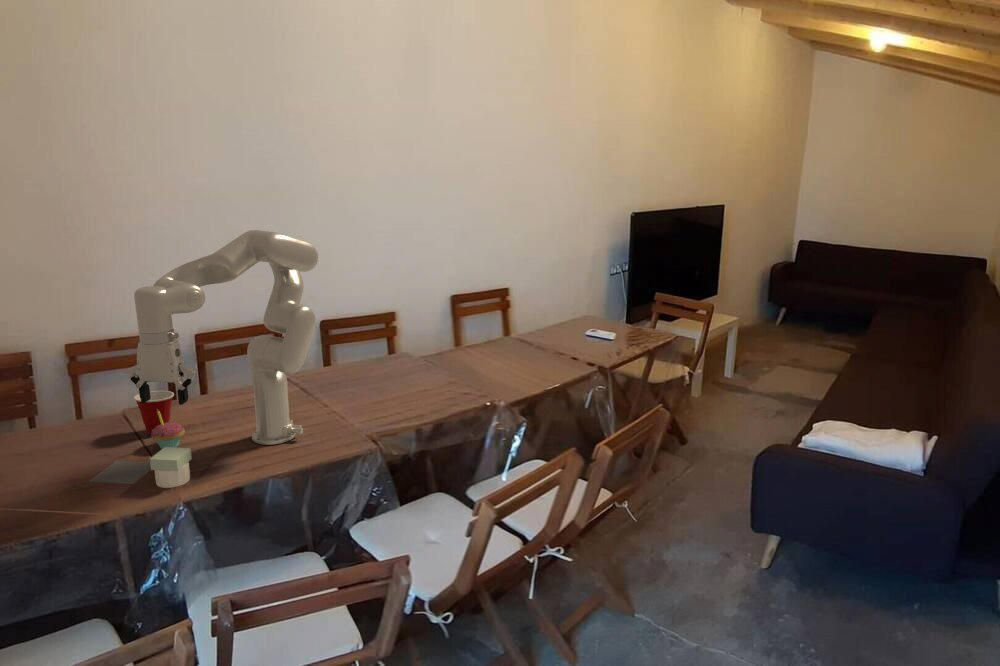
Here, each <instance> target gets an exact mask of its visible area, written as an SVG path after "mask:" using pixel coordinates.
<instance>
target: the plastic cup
mask: <svg viewBox="0 0 1000 666" xmlns="http://www.w3.org/2000/svg"><path fill="white" fill-rule="evenodd" d="M150 395H151V399H150V400H148V401H147V402H145V403H141V398H140V395H139V393H138V394H136V395H134V397H133V399H134V400H135V401H136V404H137V407H138V409H139V413H140V416H141V419H142V422H143V424H144V427H145V429H146V432H147V434H148V433H149V434H148V435H150V434H152V433H151V432H152V431H153V430H154V428H156V427H157V426H158V425H161V422H160V419H159V416H158V413H157V412H158V411H160V414H161V417H162V420H163V423H168V422H170V420H171V411H172V409H171V408H172V401H173V398H174V396H175V394H174V392H172V391H169V390H152V391H151V390H150ZM157 409H158V411H157Z"/></svg>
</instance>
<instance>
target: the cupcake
mask: <svg viewBox="0 0 1000 666" xmlns="http://www.w3.org/2000/svg"><path fill="white" fill-rule="evenodd" d="M157 411H158V409H157ZM157 413H158V416H159V419H160V422H161V425H158V426H157V427H156V428H154V430H153V431H152V432H151V433H152V434H151V435H150V436H151V437H152V439H153V440H155V441H156V442H157V444H158V446H159V448H160V450H162V449H163V448H164V447H173V448H178V446H179V444H180V440H181V438H182V437H183V436H184V435H185V432H186V431H185V428H184V426H183V425H182V424H180V423H179V422H178V423H177V422H174V421H173V422H170V421H169V422H168V423H163V420H162V417H161V414H160V411H158V412H157Z"/></svg>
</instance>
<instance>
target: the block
mask: <svg viewBox="0 0 1000 666" xmlns="http://www.w3.org/2000/svg"><path fill="white" fill-rule="evenodd" d="M192 458H193V457H192V450H191V448H190V447H175V448H173V447H164V448H163V449H160V450H159V451H157V453H155V454H154V455H152V456H151V457H150V458H149V462H150V465H151V470H150V471H154V470H166V471H179V470H180V469H181V468H182V467H183V466H184V465H185V464H186V463H188V462H190V461H191V460H192Z"/></svg>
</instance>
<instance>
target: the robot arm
mask: <svg viewBox="0 0 1000 666" xmlns="http://www.w3.org/2000/svg"><path fill="white" fill-rule="evenodd" d="M318 261H319V253H318V250H317V249H316V247H315V246H314V245H313V244H311V243H309V242H307V241H304V240H300V239H298V238H294V237H291V236H288V235H285V234H283V233H279V232H274V231H268V230H267V231H266V230H259V229H252V230H248V231H245V232H244V233H242V234H241V235H239V236H237V237H236V238H234V239H233V240H231V241H230V242H228V243H227V244H225V245H224V246H223V247H221V248H220V249H218V250H217V251H215V252H213V253H211V254H209V255H208V254H207V255H206V256H202V257H199V258H197V259H194V260H191V261H189V262H186V263H183V264H181V265H179V266H177V267H175V268H173V269H172V270H170V271H169V272H167V273H166V274H165V275H164V274H163V275H162V276H161V277H160V278H159V279H157V280H156V281H155V283H154V284H153V285H150V286H143V287H142V286H141V287H139V288H138V289H136V290H135V291H134V294H133V296H134V306H135V311H136V313H135V314H136V319H137V320H136V322H137V327H138V328H137V329H138V335H139V336H138V337H139V342H138V343H137V350H136V364H135V365H133V366H131V367H130V368H127V369H126V370H125V372H126V374H127V375H128V378H130V381H131V382H132V383H134V385H135V387H136V388H137V389H138V394H139V395H140V398H141V403H145V402H147V401H148V400H150V399H151V395H150V391H151V389H150V385H149V383H170V384H171V383H173V384H175V386H176V387H178V389H177V391H176V392H177V398H178V405H180V406H182V405H184V404H185V403H187V402H188V400H189V389H188V387H189V386H190V385H191V384H192V383H193V381H194V380H195V379H194V378H195V377H196V374H197V371H196V370H194V369H192V368H190V367H188V366H187V365H185V359H184V356H183V350H182V348H181V346H180V344H179V340H176V339H178V338H179V335H180V334H179V332H175V330H174V327H173V317H172V315H175V314H189V313H194V312H196V311H198V310H200V309H201V308H202V307H203V305H204V304H205V301H206V294H205V292H204V290H203V289H202V287H204V286H208V285H215V284H216V285H218V284H224V283H228V282H232V281H234V280H236V279H237V278H239V277H240V276H241V275H243V274H244V273H245V272H247V271H248V270H250V269H251V268H252V267H254V266H255V265H257V264H258V263H263V262H264V263H268V264H269V266H270V268H271V270H272V274H273V278H274V279H273V281H274V282H273V287H272V289H271V292H270V293H271V294H270V296H269V299H268V302H267V305H266V309H265V311H264V315H263V325H264V326H265V328H266V329H268V330H269V331H272V332H275V333H278V334H283V335H284V337H279V336H278V337H277V336H273V335H270V334H269V335H268V334H261V335H258V336H256V337H253V338H252V339H251V340H250V342H249V343H248V345H247V350H246V351H247V352H246V355H247V361H248V364H249V367H250V371H251V376H252V385H253V397H254V398H253V399H254V409H255V410H254V412H255V423H256V426H255V427H256V429H255V430H254V431H253V432H252V433H251V440H252V441H253V442H254V443H256V444H259V445H263V446H264V445H265V446H266V445H267V446H269V445H270V446H272V445H273V446H274V445H278V444H283V443H287V442H289V441H290V440H292V439H294V438H295V437H296V435H302V434H303V433H304V428H303V425H302V424H295V423H294V422H293V421H294V420H293V419H290V409H289V408H290V407H289V393H288V378H287V374H290V375H291V374H294V373H296V372H298V371H299V370H301V368H302V367H303V364H304V363H305V360H306V357H307V355H308V351H309V348H310V345H311V342H312V339H313V335H314V334H315V333H314V332H315V329H316V323H317V321H316V316H315V315H316V314H315V312H314V310H313V309H312V308H311V307H309V306H307V305H304V304H302V303H301V299H302V296H303V292H304V281H303V276H302V275H301V272H303V273H307V272H310V271H312V270H313V269H314V268H316V266H317V264H318ZM136 371H137V373H136ZM137 374H138V375H137ZM186 375H187V377H186V378H185V376H186Z"/></svg>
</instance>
